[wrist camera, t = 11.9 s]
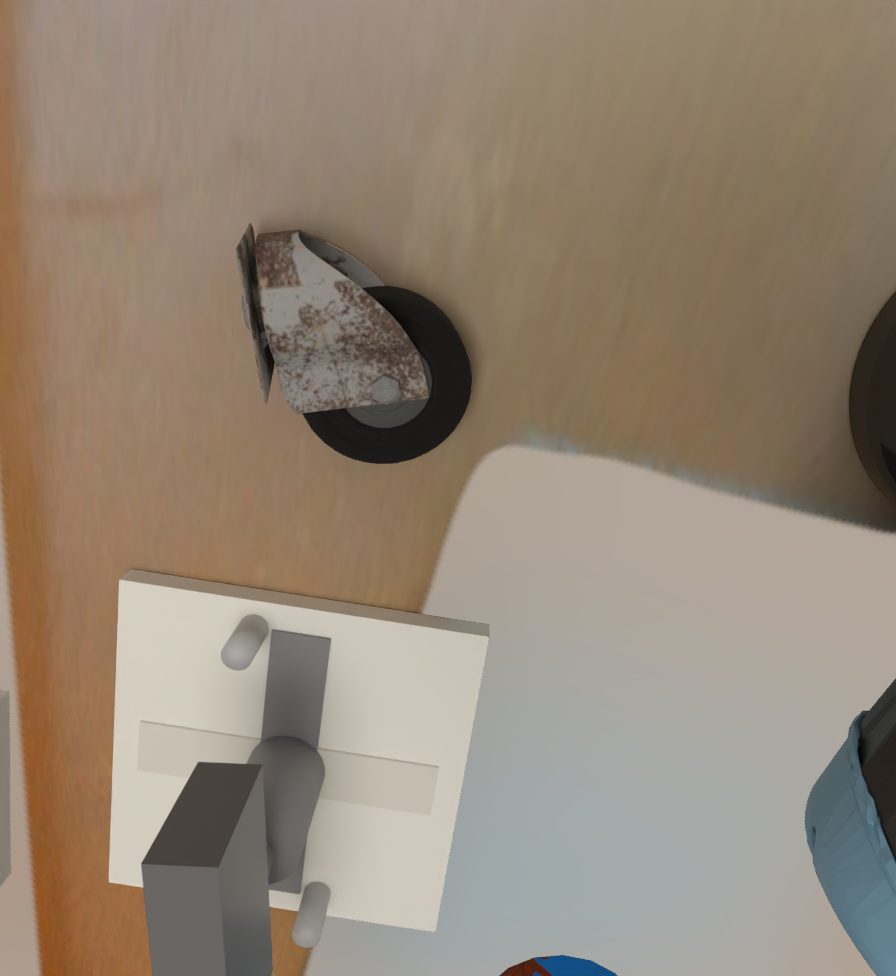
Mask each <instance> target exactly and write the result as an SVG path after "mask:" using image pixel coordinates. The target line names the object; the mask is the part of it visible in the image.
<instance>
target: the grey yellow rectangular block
mask: <svg viewBox="0 0 896 976" xmlns="http://www.w3.org/2000/svg"><path fill="white" fill-rule="evenodd" d="M274 858H275V854H274V851H273V848H272V847H271V846H270V845H269V844H268V843H267V842H266V824H265V804H264V783H263V765H260V764H237V763H214V762H198V763H197V765H196V766H195V768H194V770H193V772H192V774H191V775H190V777H189V779H188V781H187V783H186V784H185V786H184V788H183V790H182V792H181V793H180V795H179V797H178V799H177V800H176V802H175V804H174V806H173V808H172V809H171V811H170V813H169V815H168V817H167V818H166V820H165V822H164V824H163V826H162V827H161V829H160V831H159V833H158V834H157V836H156V838H155V840H154V842H153V843H152V845H151V847H150V849H149V851H148V852H147V854H146V856H145V858H144V859H143V861H142V863H141V869H142V879H143V889H144V898H145V908H146V918H147V927H148V937H149V947H150V956H151V966H152V976H274V968H273V965H272V945H271V925H270V905H269V884H268V876H269V874H270V871H271V868H272V865H273V862H274Z"/></svg>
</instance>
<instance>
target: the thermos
mask: <svg viewBox="0 0 896 976" xmlns="http://www.w3.org/2000/svg"><path fill="white" fill-rule="evenodd" d="M500 976H617V975H616V974H615V973H613V972H612V971H610V970H608V969H606V968H604V967H602V966H600V965H598V964H596V963H594V962H593V961H590V960H585V959H580V958H574V957H569V956H564V955H560V956H550V957H538V958H532V959H530V960H527V961H525V962H522V963H520V964H517V965H515V966H512V967H510V968H508V969H507V970H506V971H504V972H503V973H502V974H501V975H500Z"/></svg>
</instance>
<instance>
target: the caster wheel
mask: <svg viewBox="0 0 896 976" xmlns="http://www.w3.org/2000/svg"><path fill="white" fill-rule="evenodd" d="M236 258H237V263H238V269H239V274H240V279H241V284H242V289H243V296H242V309H243V314H244V319H245V323H246V326H247V327H248V328H249V329H250V331H251V336H252V341H253V346H254V351H255V357H256V362H257V367H258V372H259V377H260V382H261V388H262V393H263V398H264V401H265V403H266V404H267V400H268V395H269V390H270V385H271V380H272V374H273V369H274V364H276V367H277V371H278V376H279V380H280V385H281V390H282V392H283V395H284V397H285V400H286V401H287V403H288V404H289V406H290V407H291V409H292V410H293V411H294V412H295V413H297V414H300V413H303V415H304V417H305V419H306V420H307V422H308V424H309V425H310V427H311V429H312V430H313V431H314V432H315V434H316V435H317V436H318V437H319V438H320V439H321V440H322V441H323V442H324V443H326V444H327V445H328V446H330V447H331V448H332V449H334V450H335V451H337V452H339V453H341V454H342V455H345V456H347V457H349V458H352V459H355V460H359V461H363V462H368V463H376V464H390V463H398V462H402V461H407V460H411V459H414V458H416V457H418V456H421V455H423V454H425V453H427V452H429V451H430V450H432V449H434V448H435V447H437V446H438V445H439V444H441V443H442V442H443V441H444V440H445V439H446V438H447V437H448V436H449V435H450V434H451V433H452V432H453V431H454V429H455V428H456V426H457V425H458V423H459V422H460V420H461V418H462V417H463V415H464V413H465V410H466V407H467V405H468V402H469V398H470V393H471V381H472V377H471V369H470V362H469V359H468V356H467V353H466V350H465V347H464V345H463V343H462V341H461V339H460V337H459V334H458V332H457V331H456V329H455V328H454V326H453V324H452V323H451V321H450V319H449V318H448V317H447V316H446V315H445V314H444V313H443V312H442V310H440V309H439V308H438V307H437V306H436V305H435V304H434V303H432V302H431V301H429V300H427V299H426V298H424V297H423V296H421V295H420V294H417V293H414V292H411V291H408V290H406V289H402V288H396V287H391V286H385V285H384V284H383V282H382V281H381V280H380V279H379V278H378V277H377V276H376V275H375V274H374V273H373V272H372V271H371V270H370V269H369V268H368V267H367V266H365V265H364V264H363V263H362V262H360V261H359V260H358V259H356V258H355V257H353V256H352V255H350V254H348V253H347V252H345V251H343V250H341V249H340V248H338V247H336V246H334V245H332V244H330V243H328V242H326V241H323V240H321V239H319V238H316V237H314V236H312V235H309V234H307V233H305V232H303V231H301V230H294V231H284V232H274V233H265V234H258V236H257V238H256V243H255V237H254V232H253V227H252V225H251V223H250V224H249V226H248V228H247V230H246V231H245V233H244V235H243V237H242V239H241V241H240V243H239V245H238V247H237V248H236Z"/></svg>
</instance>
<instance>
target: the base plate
mask: <svg viewBox="0 0 896 976" xmlns="http://www.w3.org/2000/svg"><path fill="white" fill-rule="evenodd" d="M488 641H489V625H488V624H482V623H476V622H470V621H462V620H457V619H450V618H444V617H437V616H431V615H424V614H418V613H412V612H405V611H399V610H392V609H386V608H379V607H373V606H366V605H360V604H353V603H347V602H341V601H334V600H328V599H321V598H315V597H308V596H302V595H295V594H289V593H282V592H276V591H270V590H263V589H257V588H250V587H244V586H237V585H231V584H224V583H218V582H211V581H205V580H199V579H192V578H186V577H179V576H173V575H166V574H160V573H153V572H147V571H140V570H134V569H131V570H130V571H128V572H127V573H126V574H125V575H124V576H123V577H122V578H121V579H120V580H119V603H118V632H117V660H116V689H115V717H114V746H113V774H112V803H111V831H110V860H109V882H111V883H117V884H124V885H130V886H137V887H143V879H142V869H141V863H142V861H143V859H144V858H145V856H146V854H147V852H148V851H149V849H150V847H151V845H152V843H153V842H154V840H155V838H156V836H157V834H158V833H159V831H160V829H161V827H162V826H163V824H164V822H165V820H166V818H167V817H168V815H169V813H170V811H171V809H172V808H173V806H174V804H175V802H176V800H177V799H178V797H179V795H180V793H181V792H182V790H183V788H184V786H185V784H186V783H187V781H188V779H189V777H190V775H191V774H192V772H193V770H194V768H195V766H196V765H197V763H198V762H214V763H237V764H260V765H263V783H264V804H265V824H266V842H267V843H268V844H269V845H270V846H271V847H272V848H273V851H274V854H275V858H274V862H273V865H272V868H271V871H270V874H269V876H268V884H269V905H270V907H274V908H281V909H287V910H294V911H298V914H297V918H296V921H295V925H294V928H293V932H292V938H293V940H294V942H295V943H296V944H297V945H299V946H301V947H305V948H310V947H313V946H315V945H317V944H318V943H319V941H320V937H321V933H322V929H323V924H324V920H325V916H333V917H339V918H346V919H352V920H359V921H366V922H372V923H379V924H385V925H392V926H399V927H405V928H411V929H418V930H424V931H431V932H435V931H436V926H437V920H438V915H439V909H440V903H441V898H442V893H443V887H444V882H445V876H446V871H447V866H448V860H449V854H450V849H451V844H452V838H453V833H454V827H455V822H456V816H457V811H458V805H459V800H460V794H461V789H462V784H463V778H464V773H465V767H466V762H467V756H468V751H469V745H470V740H471V734H472V729H473V723H474V718H475V712H476V707H477V702H478V696H479V691H480V685H481V679H482V674H483V669H484V663H485V658H486V652H487V647H488Z"/></svg>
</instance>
